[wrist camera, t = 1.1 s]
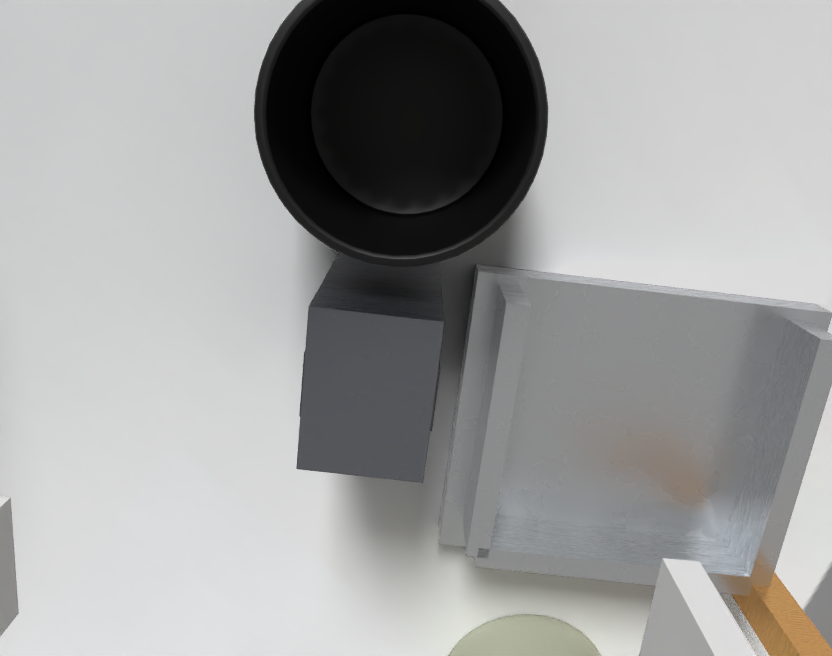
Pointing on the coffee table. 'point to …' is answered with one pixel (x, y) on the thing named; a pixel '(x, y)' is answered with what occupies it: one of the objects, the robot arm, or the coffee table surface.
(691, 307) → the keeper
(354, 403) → the dark gray box
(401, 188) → the mug
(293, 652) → the coffee table surface
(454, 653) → the can
